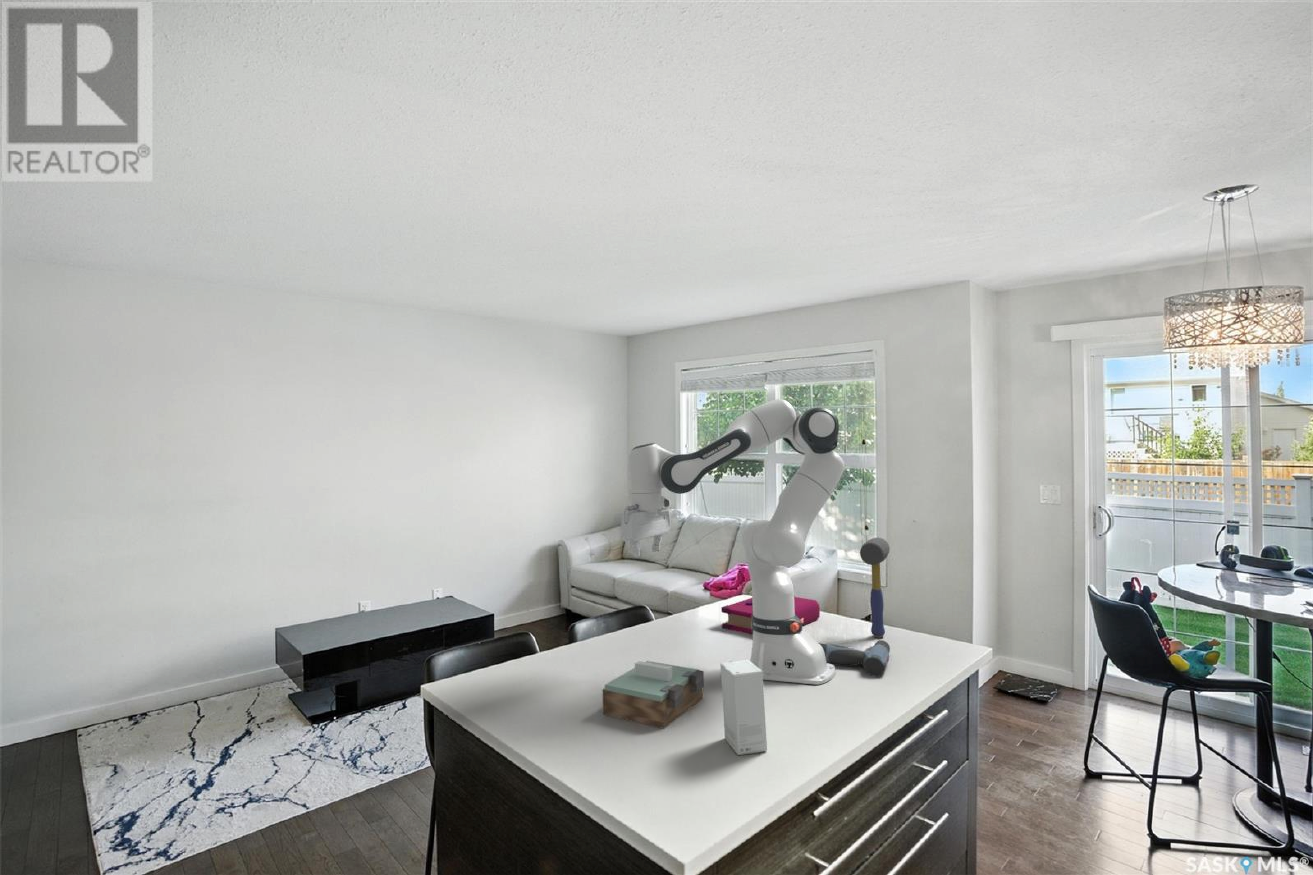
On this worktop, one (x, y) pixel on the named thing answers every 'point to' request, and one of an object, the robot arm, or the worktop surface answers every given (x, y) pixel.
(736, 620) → the book
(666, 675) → the green lid with handle
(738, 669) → the skincare box
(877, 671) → the power drill
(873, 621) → the rubber mallet
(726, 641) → the worktop surface
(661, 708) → the wooden crate tray
